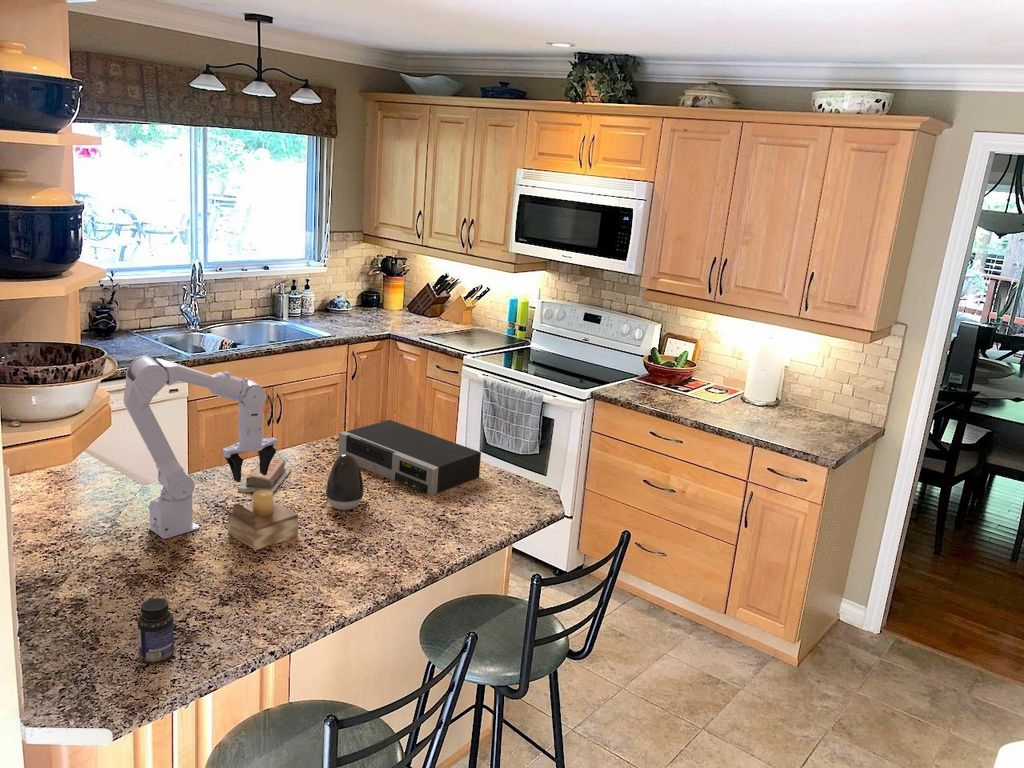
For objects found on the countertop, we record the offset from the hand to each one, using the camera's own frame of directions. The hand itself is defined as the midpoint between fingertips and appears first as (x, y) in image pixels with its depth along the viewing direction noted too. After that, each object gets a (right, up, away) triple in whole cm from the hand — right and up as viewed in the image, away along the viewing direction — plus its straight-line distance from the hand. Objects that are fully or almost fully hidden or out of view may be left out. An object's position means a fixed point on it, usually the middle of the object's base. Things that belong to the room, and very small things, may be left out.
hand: (250, 477), depth 215 cm
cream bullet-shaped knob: (+6, -8, -9) cm, 13 cm away
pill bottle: (+1, -27, -59) cm, 65 cm away
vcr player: (+34, -3, +43) cm, 55 cm away
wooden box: (+6, -13, -8) cm, 16 cm away
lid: (+6, -8, -9) cm, 14 cm away
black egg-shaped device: (+22, -10, +12) cm, 27 cm away
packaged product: (-3, -4, +25) cm, 25 cm away
